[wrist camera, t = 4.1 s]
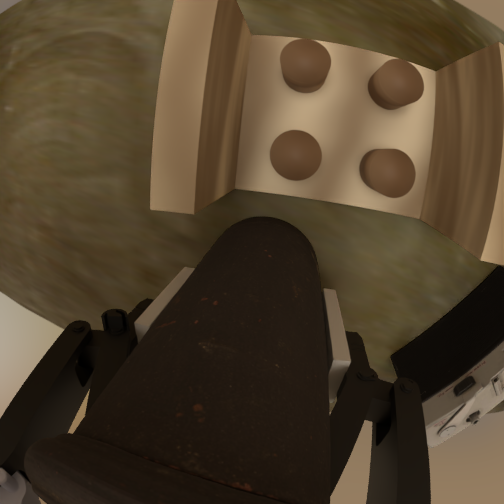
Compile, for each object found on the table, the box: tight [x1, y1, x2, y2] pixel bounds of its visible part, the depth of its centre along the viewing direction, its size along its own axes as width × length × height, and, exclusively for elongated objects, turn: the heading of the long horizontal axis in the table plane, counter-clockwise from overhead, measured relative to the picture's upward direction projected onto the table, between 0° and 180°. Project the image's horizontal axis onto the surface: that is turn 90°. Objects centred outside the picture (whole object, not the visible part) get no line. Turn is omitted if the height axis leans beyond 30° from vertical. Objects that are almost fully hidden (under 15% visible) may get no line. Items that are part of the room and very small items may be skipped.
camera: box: [391, 266, 504, 448], centre depth 16 cm, size 14×9×10 cm, turn 127°
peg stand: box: [150, 0, 504, 265], centre depth 13 cm, size 20×11×9 cm, turn 84°
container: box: [24, 217, 331, 504], centre depth 12 cm, size 9×9×20 cm
